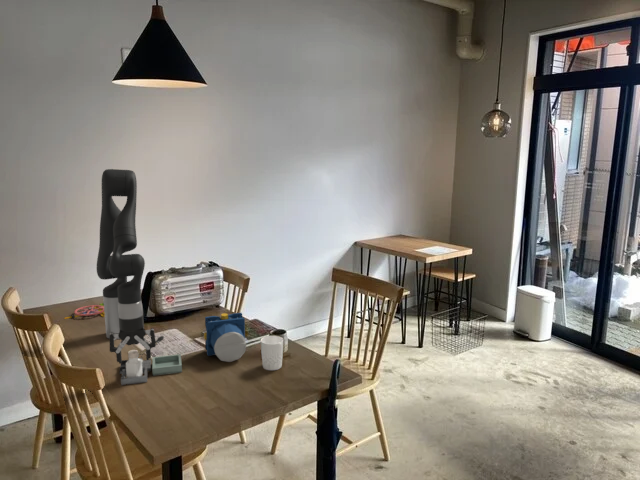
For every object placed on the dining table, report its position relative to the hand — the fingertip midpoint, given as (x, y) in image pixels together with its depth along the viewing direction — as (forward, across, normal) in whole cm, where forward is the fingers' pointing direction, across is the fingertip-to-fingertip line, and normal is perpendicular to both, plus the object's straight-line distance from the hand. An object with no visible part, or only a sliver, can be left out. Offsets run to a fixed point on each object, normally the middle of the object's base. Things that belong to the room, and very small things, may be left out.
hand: (134, 361), depth 170 cm
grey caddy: (+6, 0, -4) cm, 7 cm away
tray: (+6, -10, -5) cm, 13 cm away
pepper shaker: (+6, 0, 0) cm, 7 cm away
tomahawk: (+7, -5, -24) cm, 26 cm away
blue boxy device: (+6, -32, -10) cm, 34 cm away
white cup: (+7, -46, +4) cm, 46 cm away
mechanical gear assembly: (+6, +18, -74) cm, 77 cm away
